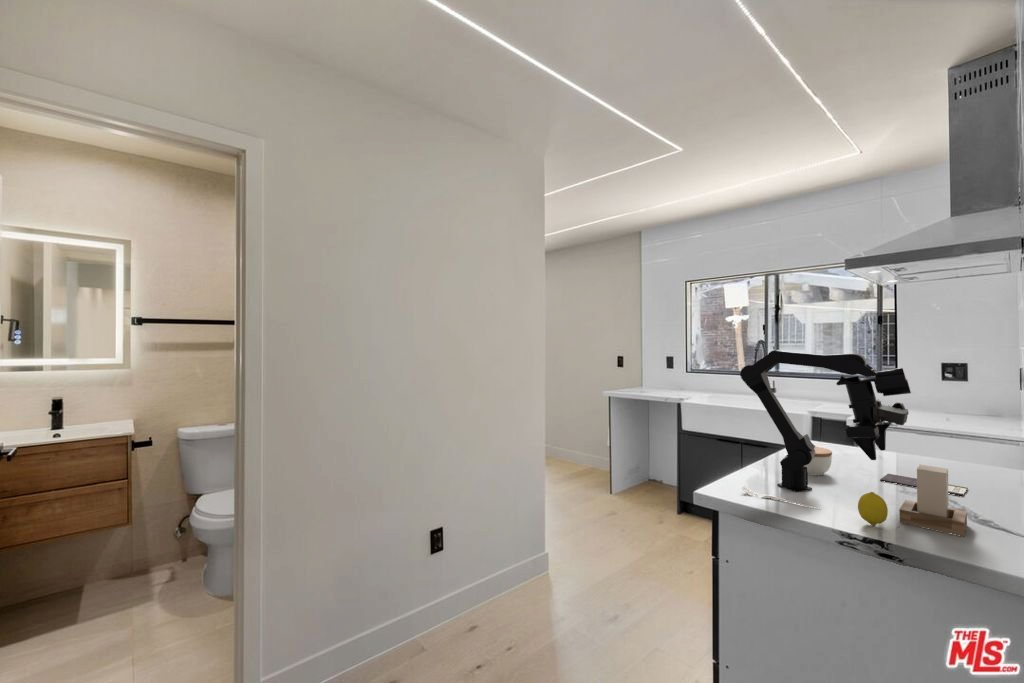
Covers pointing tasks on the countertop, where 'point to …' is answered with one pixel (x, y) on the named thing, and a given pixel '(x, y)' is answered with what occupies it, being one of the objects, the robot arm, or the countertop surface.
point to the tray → (934, 519)
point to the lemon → (872, 508)
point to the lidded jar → (820, 462)
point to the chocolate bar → (913, 482)
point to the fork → (771, 497)
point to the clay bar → (932, 490)
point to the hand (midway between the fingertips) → (878, 455)
